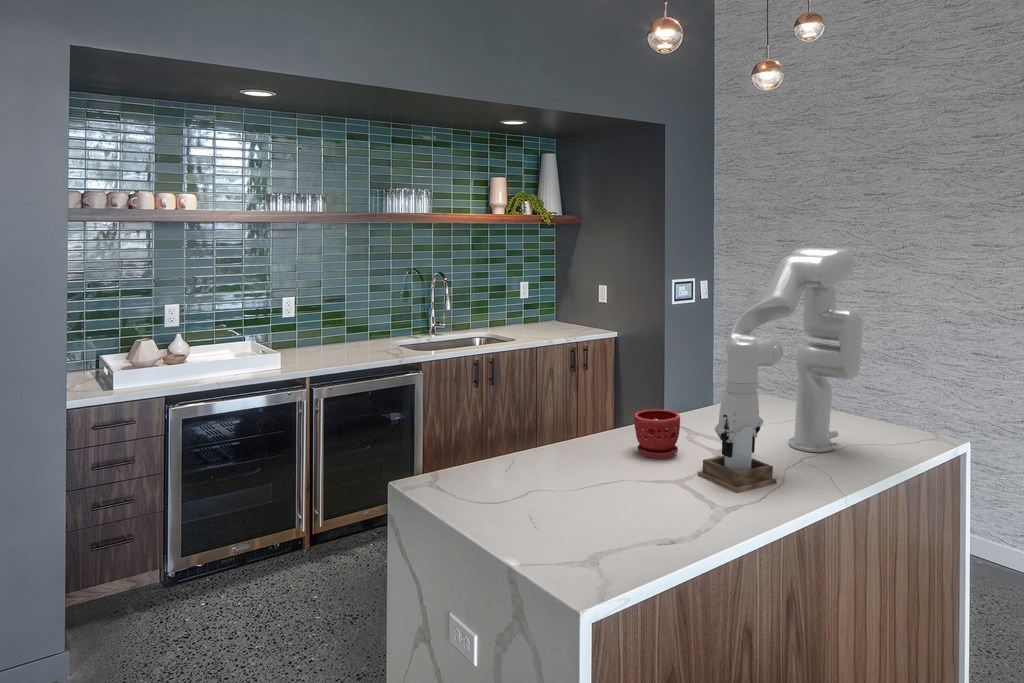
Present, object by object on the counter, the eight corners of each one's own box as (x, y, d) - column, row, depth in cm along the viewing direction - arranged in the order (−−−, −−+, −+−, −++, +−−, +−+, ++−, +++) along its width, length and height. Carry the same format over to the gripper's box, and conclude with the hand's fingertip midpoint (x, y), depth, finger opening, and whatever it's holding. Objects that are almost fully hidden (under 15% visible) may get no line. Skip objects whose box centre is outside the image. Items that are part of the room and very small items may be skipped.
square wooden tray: (736, 467, 198) (737, 451, 197) (776, 483, 185) (777, 466, 185) (697, 475, 191) (698, 459, 190) (736, 492, 179) (737, 475, 178)
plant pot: (675, 447, 215) (677, 408, 213) (681, 461, 203) (683, 420, 201) (632, 445, 217) (633, 407, 215) (635, 460, 204) (636, 419, 202)
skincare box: (746, 466, 190) (748, 422, 188) (751, 472, 186) (754, 426, 184) (723, 466, 190) (725, 422, 188) (728, 472, 186) (730, 427, 184)
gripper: (754, 381, 191) (751, 445, 194) (705, 388, 184) (702, 454, 186) (776, 386, 185) (773, 452, 188) (726, 394, 177) (723, 463, 180)
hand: (738, 453), depth 187 cm, fingers closed on skincare box, 7 cm apart
